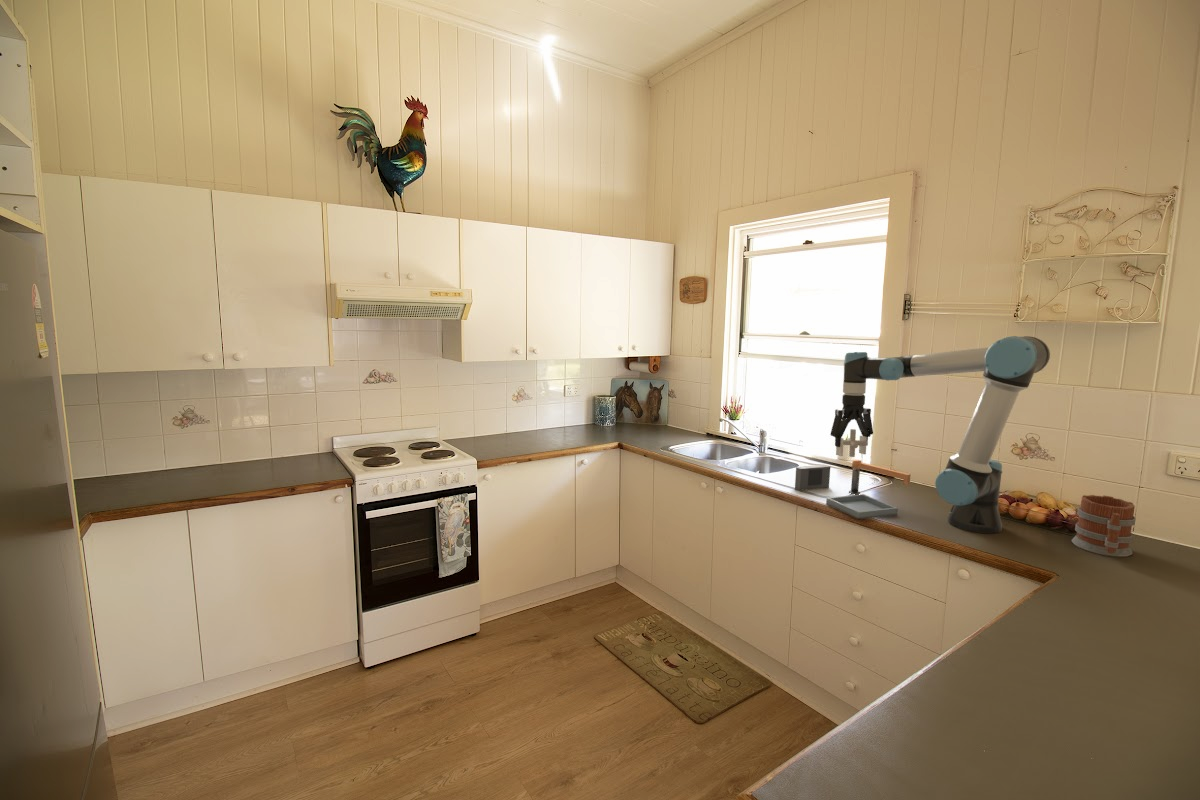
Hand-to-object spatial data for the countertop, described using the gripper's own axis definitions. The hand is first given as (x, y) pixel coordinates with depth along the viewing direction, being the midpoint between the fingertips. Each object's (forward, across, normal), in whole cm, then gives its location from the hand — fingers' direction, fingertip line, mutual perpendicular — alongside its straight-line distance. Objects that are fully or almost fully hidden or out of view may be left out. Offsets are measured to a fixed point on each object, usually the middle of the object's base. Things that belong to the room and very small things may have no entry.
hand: (850, 454), depth 210 cm
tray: (+19, 0, +7) cm, 20 cm away
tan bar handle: (+9, -13, 0) cm, 16 cm away
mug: (+21, -44, +56) cm, 75 cm away
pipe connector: (+1, 0, 0) cm, 1 cm away
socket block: (+18, +1, -20) cm, 27 cm away
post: (+19, -11, -10) cm, 23 cm away
